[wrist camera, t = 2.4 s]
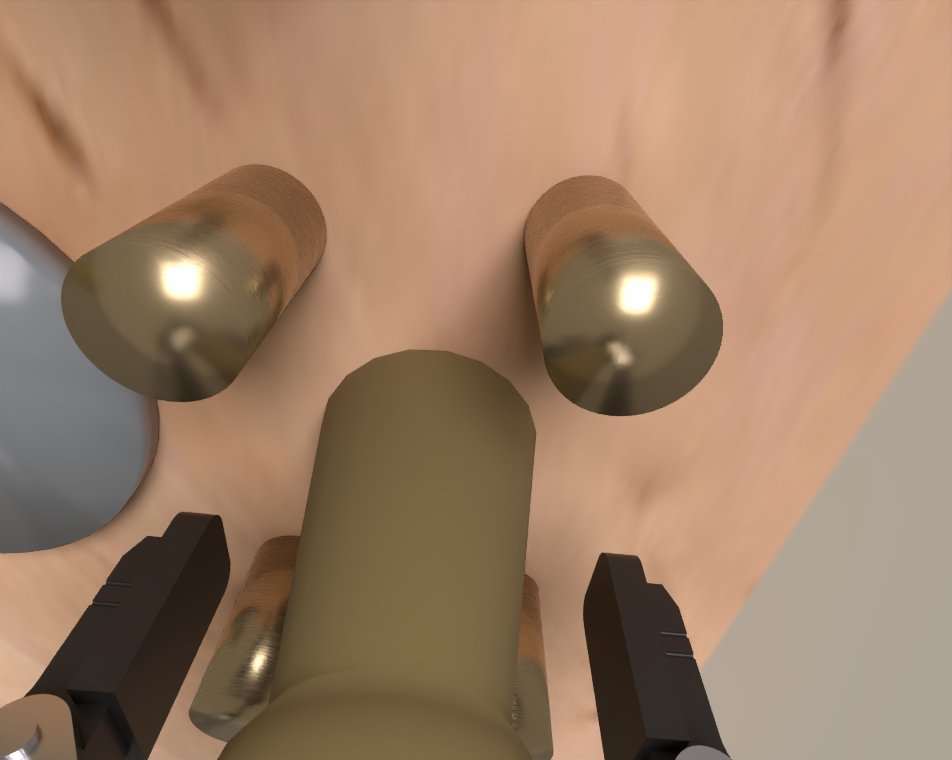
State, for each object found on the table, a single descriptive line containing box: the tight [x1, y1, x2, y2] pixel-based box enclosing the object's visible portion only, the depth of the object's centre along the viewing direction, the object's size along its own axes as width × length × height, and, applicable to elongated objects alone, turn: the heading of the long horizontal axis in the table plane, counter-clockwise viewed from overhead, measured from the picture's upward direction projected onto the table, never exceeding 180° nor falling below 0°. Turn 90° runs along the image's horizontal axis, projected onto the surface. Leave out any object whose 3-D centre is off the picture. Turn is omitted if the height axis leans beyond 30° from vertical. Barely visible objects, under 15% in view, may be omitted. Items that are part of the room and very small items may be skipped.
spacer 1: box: [61, 164, 326, 402], centre depth 10 cm, size 3×3×5 cm
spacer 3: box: [512, 574, 553, 760], centre depth 17 cm, size 3×3×5 cm
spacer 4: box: [524, 175, 723, 416], centre depth 10 cm, size 3×3×5 cm
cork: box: [217, 350, 536, 760], centre depth 11 cm, size 6×6×11 cm
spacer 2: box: [189, 536, 300, 742], centre depth 16 cm, size 3×3×5 cm
